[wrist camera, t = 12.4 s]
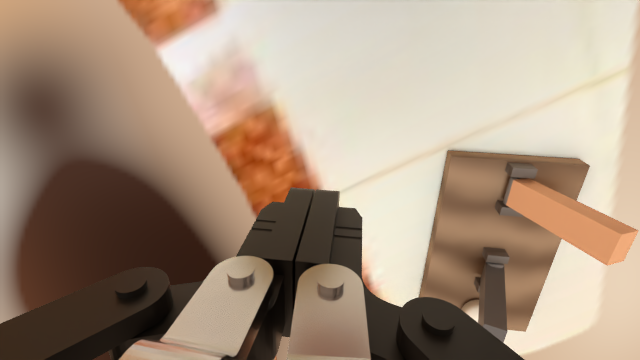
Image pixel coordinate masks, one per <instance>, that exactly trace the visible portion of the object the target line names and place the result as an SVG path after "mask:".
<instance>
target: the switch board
mask: <svg viewBox="0 0 640 360" xmlns="http://www.w3.org/2000/svg"><path fill="white" fill-rule="evenodd" d="M589 167H590V166H589V165H588V164H586V163H585V162H583V161H581V160H580V159H572V158H556V157H540V156H525V155H509V154H494V153H478V152H462V151H448V152H447V157H446V163H445V168H444V173H443V178H442V183H441V188H440V193H439V198H438V203H437V208H436V214H435V219H434V224H433V229H432V234H431V239H430V244H429V249H428V254H427V260H426V265H425V270H424V275H423V280H422V285H421V290H420V295H419V297H433V298H438V299H442V300H445V301H447V302H449V303H452V304H453V305H455V306H457V307H458V308H460V309H462V307H463V306H464V305H465V304H466V303H467V302H469V301H472V300H479V294H480V279H481V275H482V272H483V268H484V265H485V261H486V262H490V263H500V264H504V269H505V291H506V313H507V330H516V331H525V332H526V329H527V327H528V324H529V321H530V319H531V316H532V314H533V311H534V309H535V306H536V303H537V301H538V298H539V296H540V293H541V290H542V288H543V285H544V283H545V280H546V278H547V275H548V272H549V270H550V267H551V265H552V262H553V260H554V257H555V254H556V252H557V249H558V247H559V244H560V242H561V239H562V238H560V237H558V236H557V235H555V234H553V233H552V232H550V231H548V230H547V229H545V228H543V227H542V226H540V225H538V224H537V223H535V222H533V221H532V220H530V219H528V218H527V217H525V216H523V215H522V214H520V213H518V212H517V211H515V210H513V209H512V208H510V207H508V206H507V205H505V204H504V203H503V200H504V196H505V193H506V189H507V186H508V182H509V179H510V177H519V178H530V179H532V180H534V181H536V182H538V183H540V184H542V185H544V186H546V187H548V188H550V189H553V190H555V191H557V192H559V193H561V194H563V195H565V196H567V197H569V198H571V199H573V200H577V198H578V195H579V193H580V190H581V188H582V185H583V182H584V180H585V177H586V175H587V172H588V170H589Z"/></svg>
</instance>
